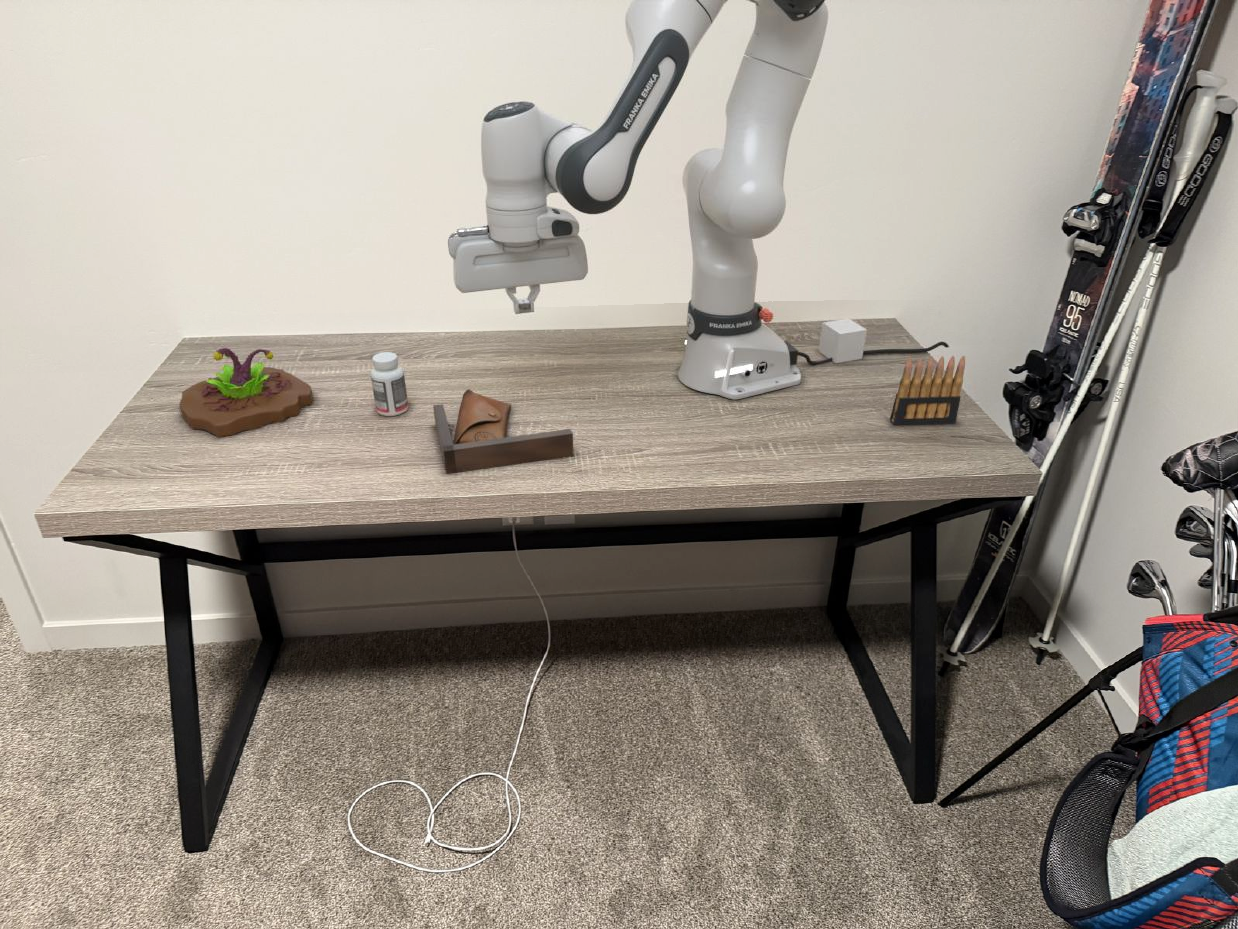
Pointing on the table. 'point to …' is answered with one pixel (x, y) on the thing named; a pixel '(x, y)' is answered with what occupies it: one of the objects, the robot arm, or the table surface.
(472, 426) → the sunglasses case
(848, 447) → the table surface
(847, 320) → the white cube
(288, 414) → the plant
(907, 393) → the ammunition clip
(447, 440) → the bracket
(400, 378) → the pill bottle
